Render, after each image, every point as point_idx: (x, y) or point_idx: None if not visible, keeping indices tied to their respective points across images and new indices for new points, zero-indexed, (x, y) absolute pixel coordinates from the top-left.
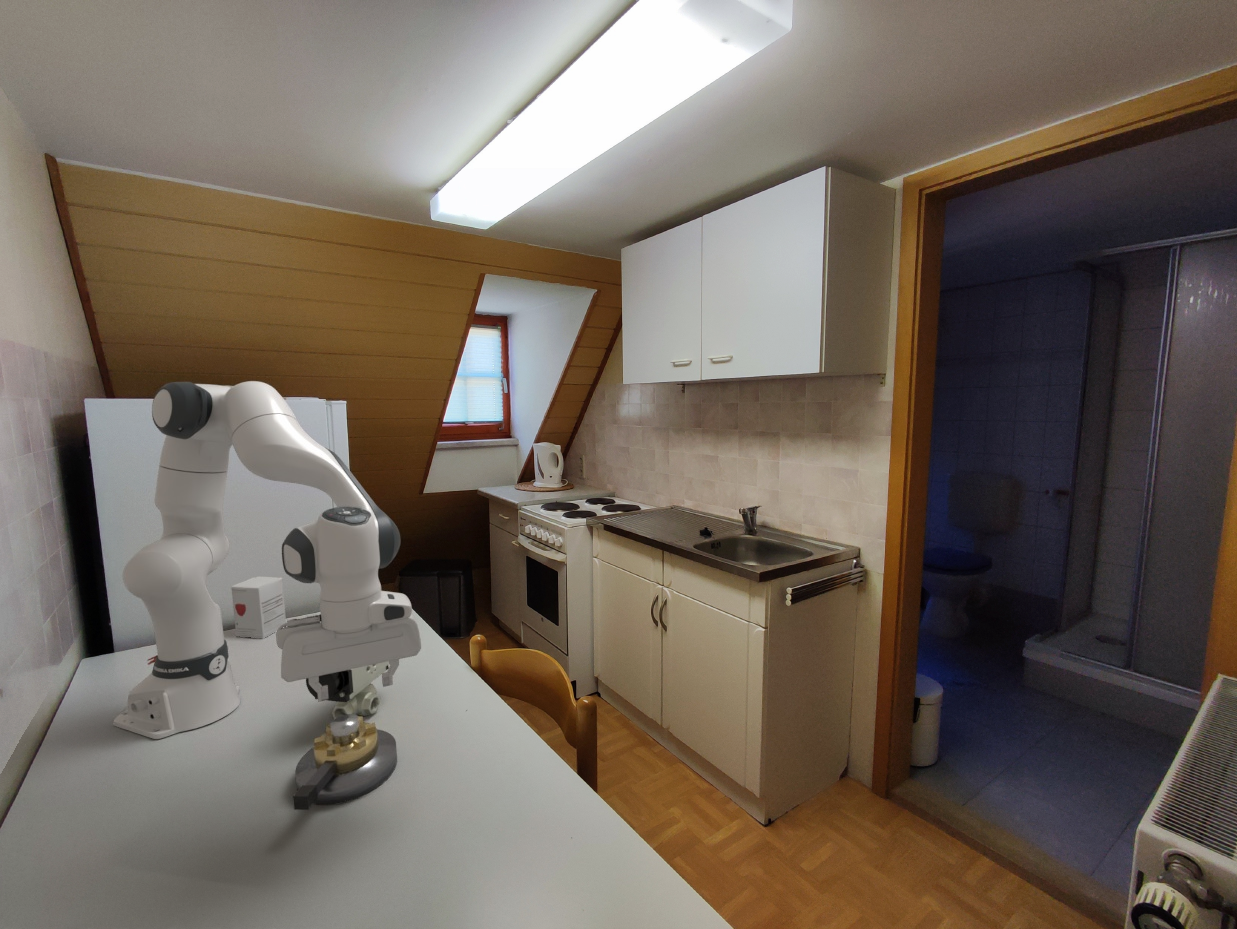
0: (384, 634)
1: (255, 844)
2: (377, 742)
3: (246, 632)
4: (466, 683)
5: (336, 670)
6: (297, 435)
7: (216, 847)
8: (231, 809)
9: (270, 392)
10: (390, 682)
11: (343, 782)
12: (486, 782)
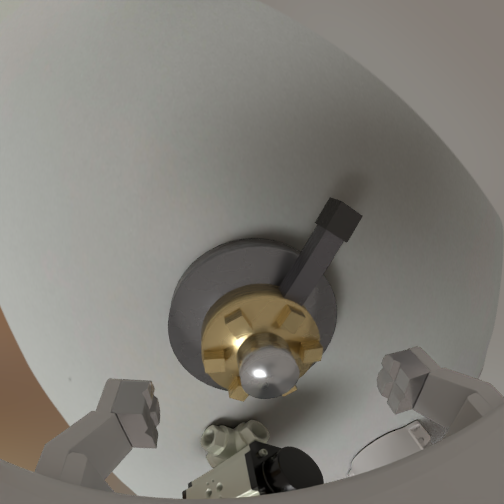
0: None
1: (377, 207)
2: (201, 335)
3: None
4: None
5: (442, 450)
6: None
7: (411, 228)
8: (394, 295)
9: None
10: (113, 386)
11: (267, 257)
12: (37, 179)
